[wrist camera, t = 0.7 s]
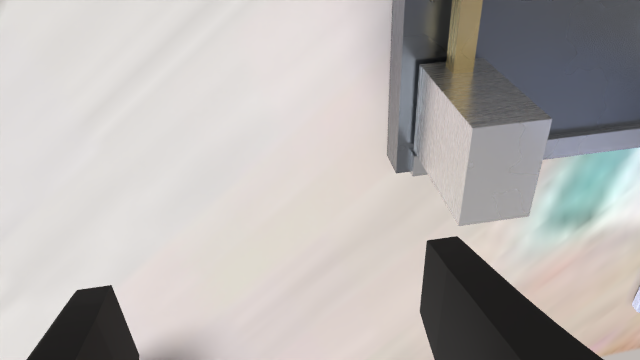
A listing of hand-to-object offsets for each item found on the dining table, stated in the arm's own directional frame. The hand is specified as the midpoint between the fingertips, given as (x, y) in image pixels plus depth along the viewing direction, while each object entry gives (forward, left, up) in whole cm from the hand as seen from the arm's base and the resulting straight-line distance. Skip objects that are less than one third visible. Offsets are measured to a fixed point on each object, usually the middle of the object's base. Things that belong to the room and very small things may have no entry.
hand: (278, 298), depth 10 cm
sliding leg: (-6, -1, -7) cm, 9 cm away
